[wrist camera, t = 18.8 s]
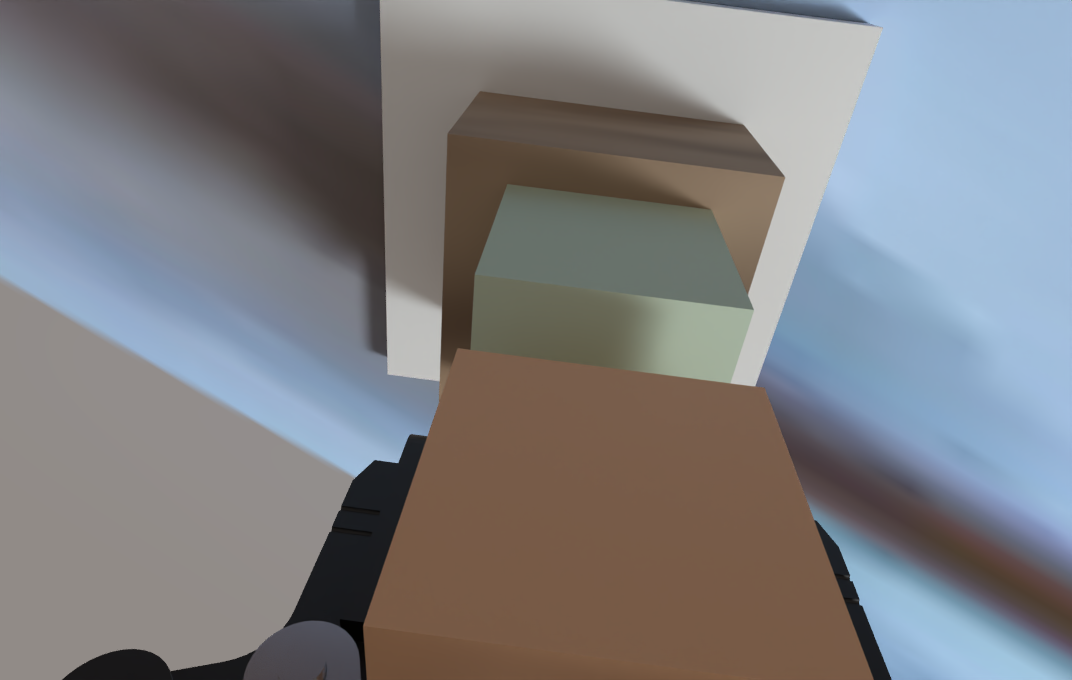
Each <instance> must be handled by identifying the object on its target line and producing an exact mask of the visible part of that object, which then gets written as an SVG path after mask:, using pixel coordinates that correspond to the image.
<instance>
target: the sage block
mask: <svg viewBox="0 0 1072 680" xmlns="http://www.w3.org/2000/svg"><path fill="white" fill-rule="evenodd" d="M753 312H754V308H753V306H752V304H751V301H750V299H749V297H748V294H747V292H746V290H745V287H744V285H743V283H742V280H741V278H740V275H739V273H738V271H737V268H736V266H735V264H734V261H733V259H732V257H731V254H730V252H729V250H728V247H727V245H726V243H725V240H724V238H723V236H722V233H721V231H720V228H719V226H718V224H717V221H716V219H715V217H714V214H713V212H712V210H710V209H702V208H694V207H686V206H678V205H670V204H662V203H654V202H646V201H638V200H630V199H622V198H614V197H606V196H598V195H590V194H583V193H575V192H567V191H559V190H551V189H543V188H535V187H527V186H519V185H511V184H507V187H506V189H505V192H504V195H503V198H502V200H501V203H500V206H499V209H498V212H497V214H496V217H495V220H494V223H493V225H492V228H491V231H490V234H489V236H488V239H487V242H486V245H485V247H484V250H483V253H482V256H481V258H480V261H479V264H478V267H477V270H476V272H475V278H474V296H473V314H472V332H471V349H470V350H476V351H484V352H491V353H499V354H507V355H515V356H522V357H530V358H538V359H546V360H553V361H561V362H569V363H577V364H584V365H592V366H600V367H607V368H615V369H623V370H631V371H638V372H646V373H654V374H662V375H669V376H677V377H685V378H693V379H700V380H708V381H716V382H724V383H731V380H732V377H733V374H734V371H735V368H736V365H737V361H738V358H739V355H740V352H741V349H742V346H743V343H744V340H745V337H746V334H747V331H748V328H749V325H750V322H751V318H752V315H753Z"/></svg>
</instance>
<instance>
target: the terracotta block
mask: <svg viewBox="0 0 1072 680" xmlns="http://www.w3.org/2000/svg"><path fill="white" fill-rule="evenodd" d="M363 632H364V646H365V660H366V675H367V680H874V679H873V676H872V674H871V671H870V668H869V666H868V663H867V660H866V658H865V655H864V652H863V650H862V647H861V644H860V642H859V639H858V636H857V634H856V631H855V628H854V626H853V623H852V620H851V617H850V615H849V612H848V609H847V607H846V604H845V601H844V599H843V596H842V593H841V591H840V588H839V585H838V583H837V580H836V577H835V575H834V572H833V569H832V567H831V564H830V561H829V559H828V556H827V553H826V551H825V548H824V545H823V543H822V540H821V537H820V535H819V532H818V529H817V527H816V524H815V521H814V519H813V516H812V513H811V511H810V508H809V505H808V503H807V500H806V497H805V495H804V492H803V489H802V487H801V484H800V481H799V479H798V476H797V473H796V471H795V468H794V465H793V463H792V460H791V457H790V455H789V452H788V449H787V447H786V444H785V441H784V439H783V436H782V433H781V431H780V428H779V425H778V423H777V420H776V417H775V415H774V412H773V409H772V407H771V404H770V401H769V399H768V396H767V393H766V390H765V388H762V387H755V386H747V385H739V384H731V383H724V382H716V381H708V380H700V379H693V378H685V377H677V376H669V375H662V374H654V373H646V372H638V371H631V370H623V369H615V368H607V367H600V366H592V365H584V364H577V363H569V362H561V361H553V360H546V359H538V358H530V357H522V356H515V355H507V354H499V353H491V352H484V351H476V350H468V349H460V348H457V351H456V354H455V357H454V360H453V363H452V366H451V369H450V372H449V375H448V378H447V381H446V384H445V387H444V390H443V393H442V395H441V398H440V401H439V404H438V407H437V410H436V413H435V416H434V419H433V422H432V425H431V428H430V431H429V434H428V437H427V440H426V442H425V445H424V448H423V451H422V454H421V457H420V460H419V463H418V466H417V469H416V472H415V475H414V478H413V481H412V484H411V487H410V489H409V492H408V495H407V498H406V501H405V504H404V507H403V510H402V513H401V516H400V519H399V522H398V525H397V528H396V531H395V534H394V536H393V539H392V542H391V545H390V548H389V551H388V554H387V557H386V560H385V563H384V566H383V569H382V572H381V575H380V578H379V581H378V584H377V586H376V589H375V592H374V595H373V598H372V601H371V604H370V607H369V610H368V613H367V616H366V619H365V622H364V625H363Z"/></svg>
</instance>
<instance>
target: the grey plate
mask: <svg viewBox="0 0 1072 680" xmlns="http://www.w3.org/2000/svg"><path fill="white" fill-rule="evenodd" d="M882 29H883V28H882V27H879V26H876V25H872V24H868V23H860V22H852V21H845V20H837V19H829V18H821V17H813V16H805V15H797V14H789V13H781V12H773V11H765V10H757V9H749V8H741V7H733V6H726V5H718V4H710V3H702V2H694V1H686V0H380V33H381V80H382V127H383V173H384V220H385V266H386V313H387V360H388V374H390V375H397V376H405V377H412V378H420V379H427V380H435V381H440V354H441V323H442V291H443V259H444V228H445V196H446V164H447V134H448V132H449V131H450V130H451V128H452V127H453V126H454V124H455V123H456V122H457V120H458V119H459V118H460V117H461V115H462V114H463V113H464V111H465V110H466V109H467V107H468V106H469V105H470V103H471V102H472V101H473V100H474V98H475V97H476V96H477V94H478V93H479V92H480V91H483V92H490V93H498V94H506V95H514V96H522V97H529V98H537V99H545V100H553V101H561V102H568V103H576V104H584V105H592V106H600V107H607V108H615V109H623V110H631V111H639V112H646V113H654V114H662V115H670V116H678V117H686V118H693V119H701V120H709V121H717V122H725V123H732V124H740V125H744V126H745V127H746V128H747V129H748V131H749V132H750V133H751V134H752V136H753V137H754V138H755V139H756V141H757V142H758V143H759V144H760V146H761V147H762V148H763V150H764V151H765V152H766V153H767V155H768V156H769V157H770V158H771V160H772V161H773V162H774V163H775V165H776V166H777V167H778V168H779V170H780V171H781V172H782V173H783V175H784V176H785V180H784V183H783V186H782V190H781V193H780V196H779V199H778V202H777V205H776V208H775V212H774V215H773V218H772V221H771V224H770V227H769V230H768V233H767V237H766V240H765V243H764V246H763V249H762V252H761V255H760V258H759V262H758V265H757V268H756V271H755V274H754V277H753V280H752V283H751V287H750V290H749V293H748V297H749V299H750V301H751V304H752V306H753V308H754V312H753V315H752V318H751V322H750V325H749V328H748V331H747V334H746V337H745V340H744V343H743V346H742V349H741V352H740V355H739V358H738V361H737V365H736V368H735V371H734V374H733V377H732V380H731V384H739V385H747V386H755V385H756V382H757V379H758V376H759V374H760V371H761V368H762V365H763V362H764V360H765V357H766V354H767V351H768V348H769V346H770V343H771V340H772V337H773V334H774V332H775V329H776V326H777V323H778V320H779V318H780V315H781V312H782V309H783V306H784V304H785V301H786V298H787V295H788V292H789V290H790V287H791V284H792V281H793V278H794V276H795V273H796V270H797V267H798V264H799V262H800V259H801V256H802V253H803V250H804V248H805V245H806V242H807V239H808V236H809V234H810V231H811V228H812V225H813V222H814V220H815V217H816V214H817V211H818V208H819V206H820V203H821V200H822V197H823V194H824V192H825V189H826V186H827V183H828V180H829V178H830V175H831V172H832V169H833V166H834V164H835V161H836V158H837V155H838V152H839V150H840V147H841V144H842V141H843V138H844V136H845V133H846V130H847V127H848V124H849V122H850V119H851V116H852V113H853V110H854V108H855V105H856V102H857V99H858V96H859V94H860V91H861V88H862V85H863V82H864V80H865V77H866V74H867V71H868V68H869V66H870V63H871V60H872V57H873V54H874V52H875V49H876V46H877V43H878V40H879V38H880V35H881V32H882Z"/></svg>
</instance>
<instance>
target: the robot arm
mask: <svg viewBox="0 0 1072 680" xmlns="http://www.w3.org/2000/svg"><path fill="white" fill-rule="evenodd" d="M427 437H428V436H421V435H413V434H411V435H410V436H409V437H408V439H407V442H406V444H405V447H404V450H403V452H402V455H401V458H400V460H399V463H392V462H385V461H377V460H374V461H373V462H372V463H371V464H370V465H369V466H368V467H367V468H366V469H365V470H364V471H362V472H361V473H360V474H359V475H358V476H357V477H356V478H355V479H354V480H353V481H352V483H351V486H350V488H349V490H348V492H347V494H346V497H345V499H344V501H343V504H342V506H341V511H339V512H338V514H337V517H336V519H335V521H334V523H333V526H332V531H331V532H329V534H328V537H327V539H326V541H325V544H324V546H323V548H322V550H321V552H320V555H319V557H318V559H317V561H316V563H315V566H314V568H313V570H312V572H311V575H310V577H309V579H308V581H307V583H306V586H305V588H304V590H303V592H302V595H301V597H300V599H299V601H298V604H297V606H296V608H295V610H294V612H293V614H292V616H291V618H290V619H289V621H288V622H287V624H286V625H285V626H284V628H283V629H281V630H280V631H278V632H276V633H274V634H273V635H272V636H270V637H269V638H268V639H267V640H265V641H264V642H263V643H262V644H261V645H260V646H259V648H258V649H257V650H255V651H253V652H251V653H249V654H247V655H245V656H242V657H239V658H237V659H233V660H230V661H225V662H220V663H214V664H209V665H203V666H198V667H192V668H186V669H181V670H176V671H170V670H169V668H168V666H167V665H166V663H165V662H164V661H163V660H162V659H161V658H160V657H159V656H157V655H155V654H153V653H151V652H148V651H144V650H137V649H128V650H120V651H114V652H110V653H107V654H104V655H101V656H99V657H96V658H94V659H92V660H90V661H88V662H86V663H84V664H83V665H81V666H79V667H78V668H76V669H75V670H74V671H72V672H71V673H69V674H68V675H67V676H66V677H65V678H64V679H63V680H367V675H366V660H365V646H364V632H363V625H364V622H365V619H366V616H367V613H368V610H369V607H370V604H371V601H372V598H373V595H374V592H375V589H376V586H377V584H378V581H379V578H380V575H381V572H382V569H383V566H384V563H385V560H386V557H387V554H388V551H389V548H390V545H391V542H392V539H393V536H394V534H395V531H396V528H397V525H398V522H399V519H400V516H401V513H402V510H403V507H404V504H405V501H406V498H407V495H408V492H409V489H410V487H411V484H412V481H413V478H414V475H415V472H416V469H417V466H418V463H419V460H420V457H421V454H422V451H423V448H424V445H425V442H426V440H427ZM814 521H815V520H814ZM815 524H816V527H817V529H818V532H819V535H820V537H821V540H822V543H823V545H824V548H825V551H826V553H827V556H828V559H829V561H830V564H831V567H832V569H833V572H834V575H835V577H836V580H837V583H838V585H839V588H840V591H841V593H842V596H843V599H844V601H845V604H846V607H847V609H848V612H849V615H850V617H851V620H852V623H853V626H854V628H855V631H856V634H857V636H858V639H859V642H860V644H861V647H862V650H863V652H864V655H865V658H866V660H867V663H868V666H869V668H870V671H871V674H872V676H873V679H874V680H891V677H890V674H889V672H888V669H887V667H886V664H885V662H884V659H883V657H882V654H881V652H880V649H879V647H878V644H877V642H876V639H875V637H874V634H873V632H872V629H871V627H870V624H869V622H868V619H867V617H866V614H865V612H864V609H863V607H862V606H861V605H859V600H860V599H859V597H858V594H857V592H856V589H855V587H854V584H853V582H852V581H850V574H849V572H848V569H847V567H846V564H845V562H844V559H843V557H842V554H841V552H840V549H839V547H838V546H837V544H836V543H835V542H834V541H833V540H832V539H831V537H830V536H829V535H828V534H827V533H826V531H825V530H824V529H823V528H822V527H821V525H820V524H819V523H818V522H817V521H815Z"/></svg>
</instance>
